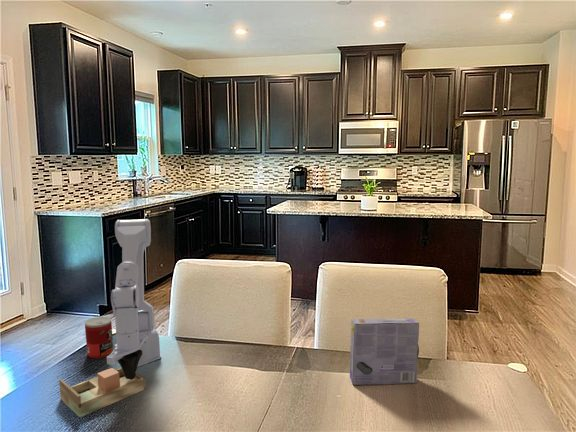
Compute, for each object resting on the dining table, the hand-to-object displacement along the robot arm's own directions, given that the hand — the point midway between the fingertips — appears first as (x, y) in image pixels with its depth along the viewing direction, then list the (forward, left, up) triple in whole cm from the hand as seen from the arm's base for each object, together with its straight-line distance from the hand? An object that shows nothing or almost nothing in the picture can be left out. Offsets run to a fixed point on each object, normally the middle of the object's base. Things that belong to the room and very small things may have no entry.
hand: (130, 378), depth 119 cm
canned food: (-4, -28, -3) cm, 29 cm away
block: (+5, -1, -1) cm, 6 cm away
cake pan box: (-50, +49, -3) cm, 70 cm away
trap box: (+6, -3, -3) cm, 8 cm away
